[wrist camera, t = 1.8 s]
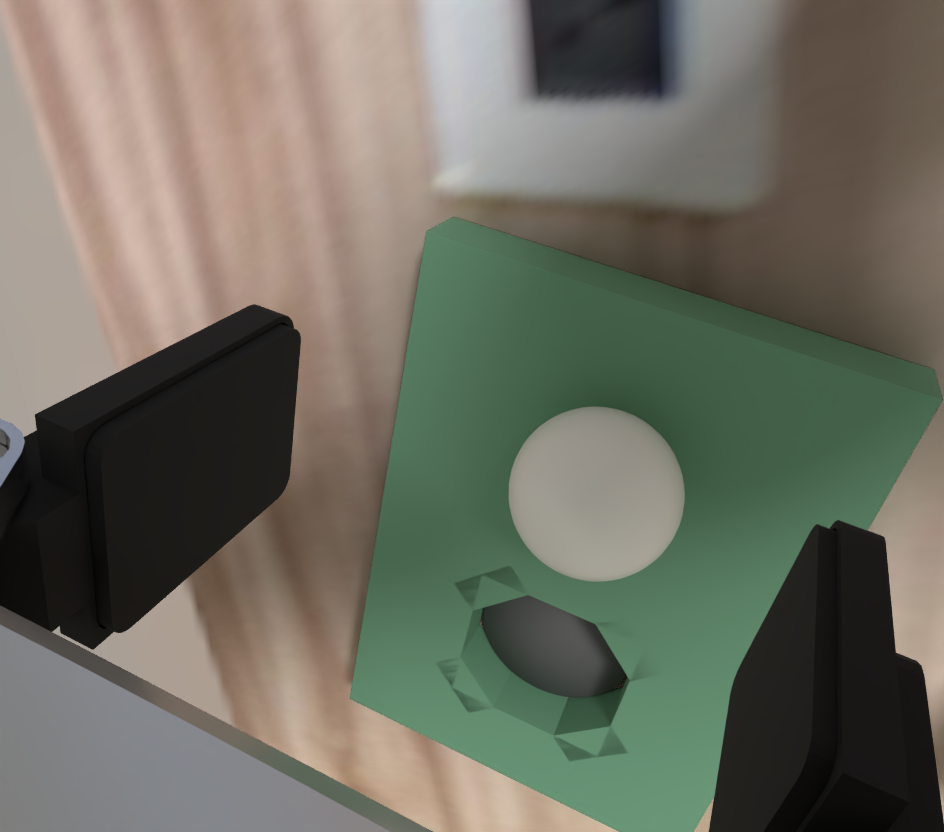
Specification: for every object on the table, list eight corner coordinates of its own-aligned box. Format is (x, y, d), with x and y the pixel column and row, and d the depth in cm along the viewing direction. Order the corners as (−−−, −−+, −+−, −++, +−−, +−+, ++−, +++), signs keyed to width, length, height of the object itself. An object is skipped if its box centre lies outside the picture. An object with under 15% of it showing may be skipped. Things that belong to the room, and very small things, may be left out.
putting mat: (453, 216, 31) (426, 231, 29) (934, 369, 27) (942, 399, 25) (372, 666, 44) (349, 698, 42) (685, 816, 40) (677, 860, 38)
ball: (559, 357, 29) (503, 428, 24) (720, 413, 28) (695, 501, 23) (523, 487, 32) (467, 573, 27) (666, 543, 31) (634, 646, 26)
